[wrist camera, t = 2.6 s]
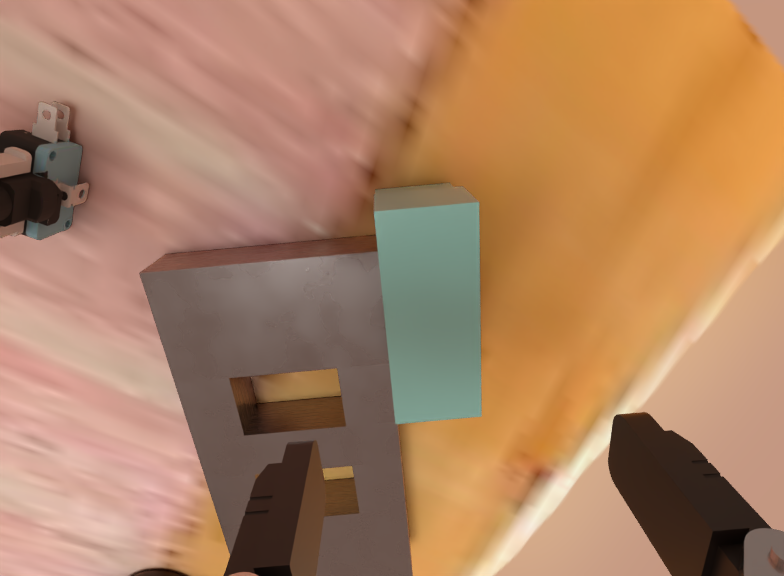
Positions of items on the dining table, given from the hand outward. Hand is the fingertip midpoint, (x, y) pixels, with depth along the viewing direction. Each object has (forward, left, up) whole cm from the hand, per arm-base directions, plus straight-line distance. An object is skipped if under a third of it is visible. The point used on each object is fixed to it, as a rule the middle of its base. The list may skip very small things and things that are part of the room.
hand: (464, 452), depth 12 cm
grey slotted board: (+10, -8, -15) cm, 19 cm away
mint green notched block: (0, 0, -15) cm, 15 cm away
